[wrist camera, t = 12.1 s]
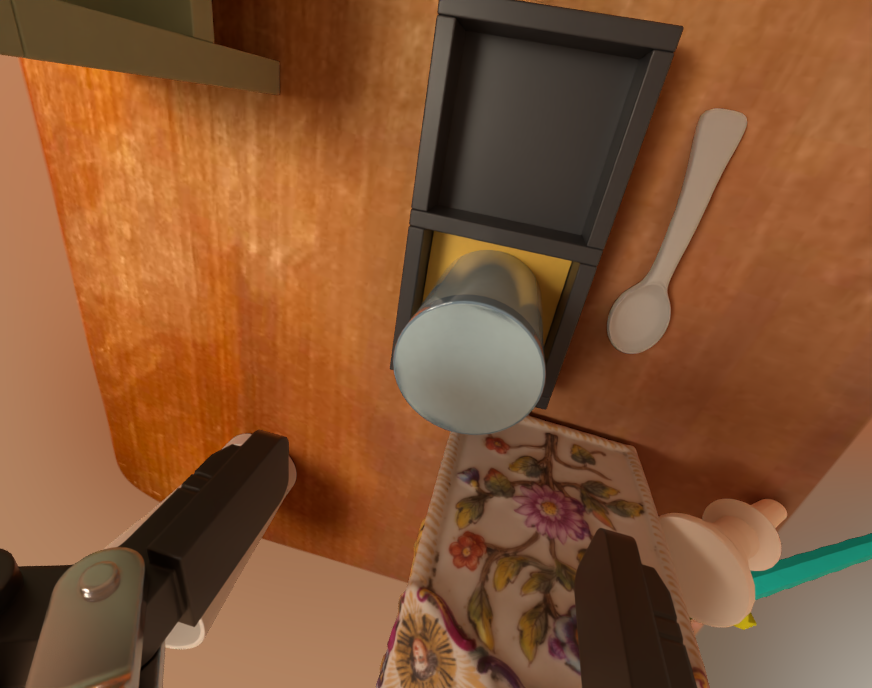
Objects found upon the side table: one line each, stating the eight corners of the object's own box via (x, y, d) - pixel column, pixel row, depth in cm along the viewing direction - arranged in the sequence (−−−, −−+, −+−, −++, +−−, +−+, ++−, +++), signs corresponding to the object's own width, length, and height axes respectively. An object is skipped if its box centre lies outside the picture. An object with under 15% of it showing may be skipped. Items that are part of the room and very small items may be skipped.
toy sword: (618, 675, 32) (1169, 524, 21) (571, 631, 31) (1136, 442, 19) (610, 639, 35) (1101, 485, 23) (567, 597, 33) (1068, 409, 22)
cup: (309, 508, 36) (216, 662, 26) (226, 490, 37) (104, 629, 27) (301, 435, 32) (188, 579, 22) (209, 417, 34) (60, 545, 23)
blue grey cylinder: (444, 237, 23) (402, 284, 16) (557, 262, 22) (567, 323, 15) (426, 337, 26) (385, 414, 19) (526, 362, 25) (522, 451, 18)
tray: (454, 8, 19) (440, -13, 16) (662, 42, 18) (685, 25, 15) (404, 345, 27) (389, 369, 24) (545, 381, 26) (546, 410, 23)
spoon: (594, 338, 24) (600, 352, 23) (683, 107, 20) (699, 101, 18) (646, 352, 24) (656, 366, 22) (750, 120, 19) (773, 115, 17)
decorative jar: (426, 511, 33) (324, 856, 17) (459, 391, 27) (354, 737, 12) (577, 560, 32) (617, 977, 16) (644, 445, 26) (802, 909, 11)
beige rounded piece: (719, 513, 20) (805, 459, 25) (625, 516, 24) (716, 470, 29) (772, 638, 18) (850, 552, 24) (663, 618, 22) (751, 549, 28)
